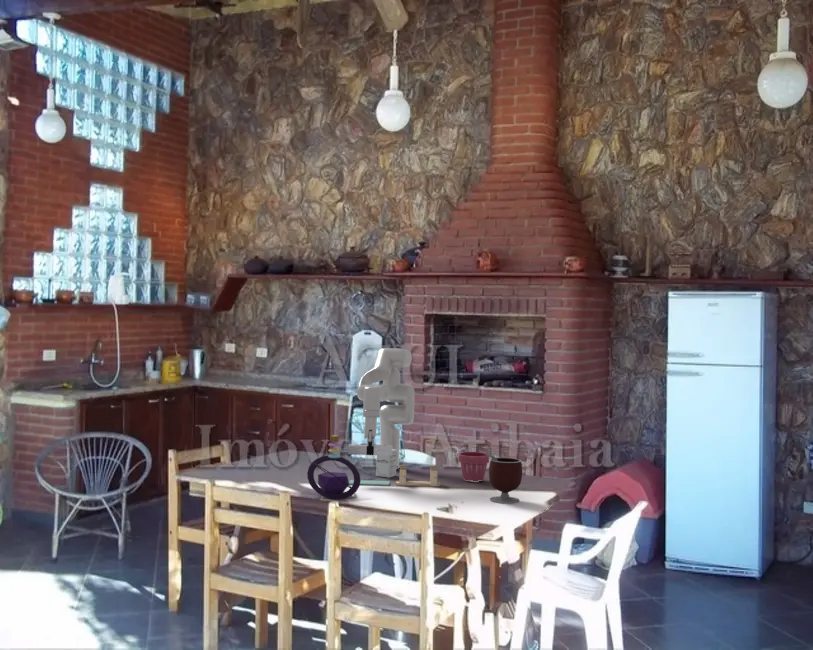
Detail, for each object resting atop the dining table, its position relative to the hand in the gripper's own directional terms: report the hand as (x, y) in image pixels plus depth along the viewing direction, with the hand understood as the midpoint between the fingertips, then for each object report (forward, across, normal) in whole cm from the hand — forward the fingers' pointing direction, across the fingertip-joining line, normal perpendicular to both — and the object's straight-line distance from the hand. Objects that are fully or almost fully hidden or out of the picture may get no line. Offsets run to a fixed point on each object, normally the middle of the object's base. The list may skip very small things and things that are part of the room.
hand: (370, 453), depth 397 cm
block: (0, 0, 0) cm, 0 cm away
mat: (+13, 0, 0) cm, 13 cm away
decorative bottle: (+14, +28, -14) cm, 34 cm away
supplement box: (+14, -21, +7) cm, 26 cm away
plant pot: (+13, -14, +48) cm, 52 cm away
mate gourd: (+14, +30, +57) cm, 66 cm away
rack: (+13, -1, +22) cm, 26 cm away
